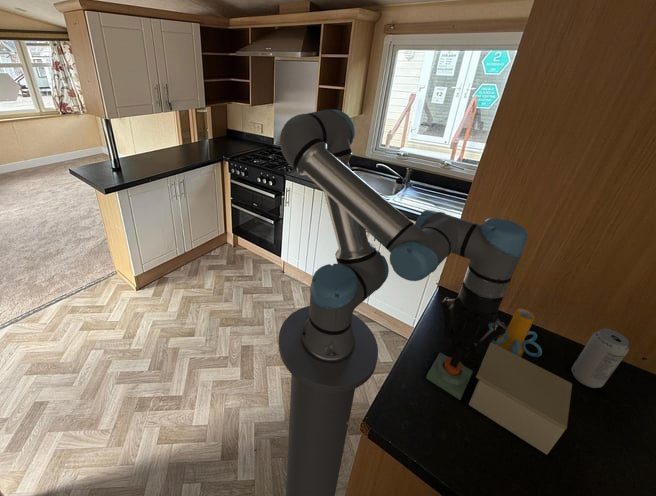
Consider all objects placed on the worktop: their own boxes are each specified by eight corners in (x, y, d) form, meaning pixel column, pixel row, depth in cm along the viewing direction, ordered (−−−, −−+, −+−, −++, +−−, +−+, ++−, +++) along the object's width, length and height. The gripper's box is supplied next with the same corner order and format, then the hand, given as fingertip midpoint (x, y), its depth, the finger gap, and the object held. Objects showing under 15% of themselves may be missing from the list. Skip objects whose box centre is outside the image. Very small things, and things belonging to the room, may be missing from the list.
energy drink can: (586, 368, 82) (614, 326, 75) (608, 390, 76) (640, 347, 70) (563, 367, 82) (589, 326, 75) (584, 390, 76) (613, 347, 70)
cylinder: (496, 373, 80) (517, 331, 74) (472, 339, 90) (488, 300, 83) (542, 371, 81) (567, 329, 74) (513, 338, 90) (532, 299, 83)
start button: (441, 368, 78) (443, 364, 77) (446, 359, 80) (448, 355, 80) (457, 378, 76) (459, 373, 75) (461, 368, 78) (463, 364, 77)
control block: (425, 378, 79) (428, 369, 77) (438, 356, 85) (441, 347, 83) (460, 400, 74) (464, 391, 72) (471, 375, 80) (475, 366, 78)
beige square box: (468, 404, 73) (479, 380, 69) (482, 370, 81) (493, 346, 77) (547, 455, 64) (565, 430, 60) (554, 410, 72) (570, 386, 68)
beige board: (475, 377, 70) (476, 375, 69) (489, 344, 78) (490, 341, 77) (565, 430, 60) (566, 427, 60) (570, 385, 68) (572, 383, 68)
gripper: (523, 294, 65) (488, 369, 75) (455, 267, 73) (432, 339, 83) (516, 313, 60) (480, 391, 70) (444, 282, 68) (422, 356, 79)
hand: (454, 362), depth 77 cm, fingers closed
